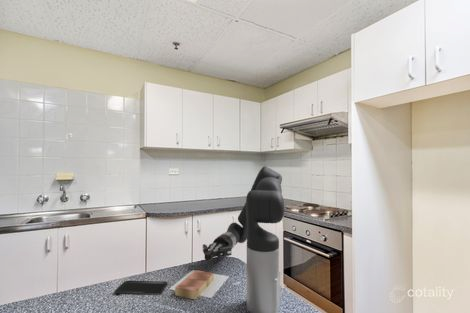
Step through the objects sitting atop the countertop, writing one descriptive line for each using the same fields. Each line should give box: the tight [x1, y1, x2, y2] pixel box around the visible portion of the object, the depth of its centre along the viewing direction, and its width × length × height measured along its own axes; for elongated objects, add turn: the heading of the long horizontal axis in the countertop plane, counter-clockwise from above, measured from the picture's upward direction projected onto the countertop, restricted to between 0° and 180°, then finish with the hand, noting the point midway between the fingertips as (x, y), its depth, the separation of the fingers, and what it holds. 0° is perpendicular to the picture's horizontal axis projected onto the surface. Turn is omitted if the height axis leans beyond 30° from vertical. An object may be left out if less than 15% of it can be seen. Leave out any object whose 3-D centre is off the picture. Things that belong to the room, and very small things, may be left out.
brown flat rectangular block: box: [174, 269, 215, 301], centre depth 80 cm, size 7×2×13 cm
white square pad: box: [169, 269, 230, 299], centre depth 83 cm, size 15×15×1 cm
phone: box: [114, 280, 169, 296], centre depth 79 cm, size 8×1×15 cm
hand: (206, 257), depth 88 cm, fingers closed
